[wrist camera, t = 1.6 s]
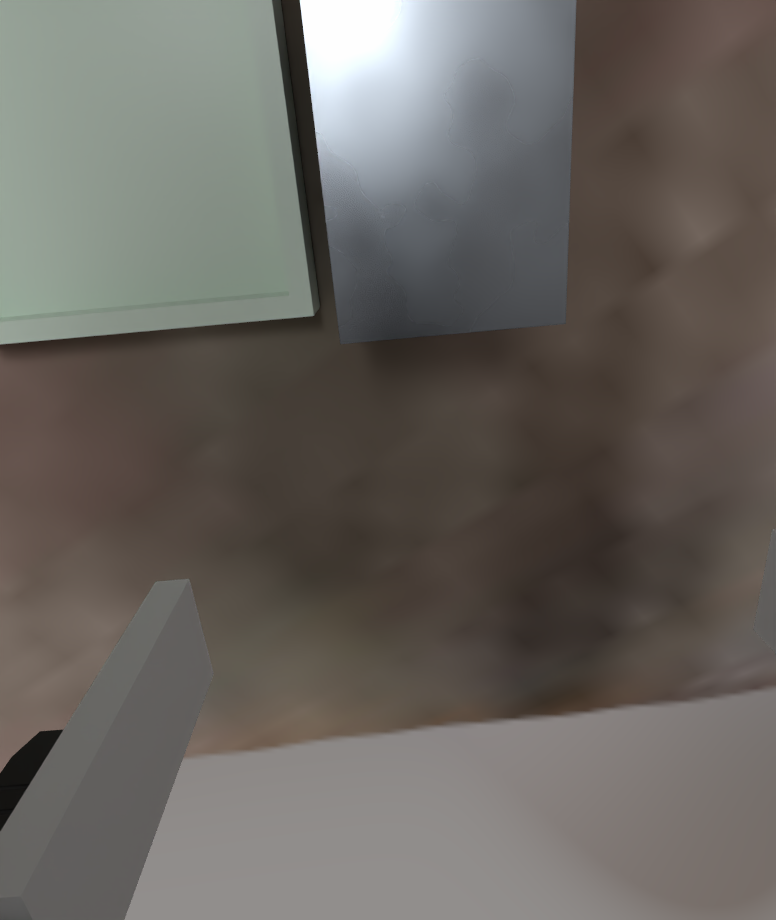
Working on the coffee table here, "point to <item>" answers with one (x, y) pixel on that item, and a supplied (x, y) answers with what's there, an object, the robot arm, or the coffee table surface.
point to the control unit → (443, 161)
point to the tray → (148, 168)
